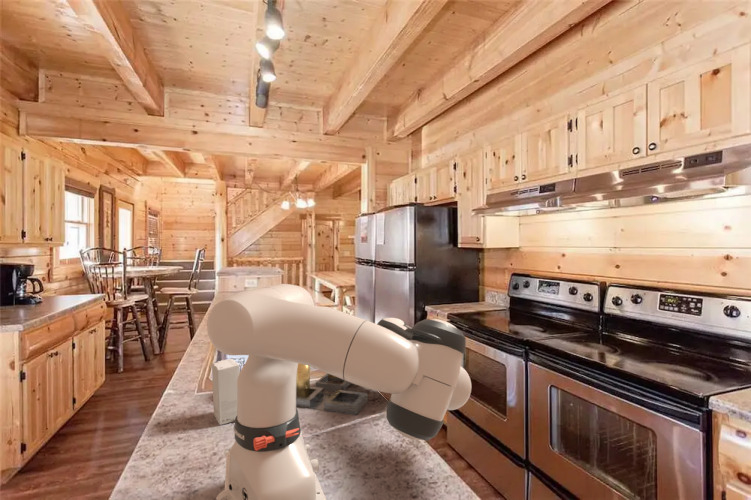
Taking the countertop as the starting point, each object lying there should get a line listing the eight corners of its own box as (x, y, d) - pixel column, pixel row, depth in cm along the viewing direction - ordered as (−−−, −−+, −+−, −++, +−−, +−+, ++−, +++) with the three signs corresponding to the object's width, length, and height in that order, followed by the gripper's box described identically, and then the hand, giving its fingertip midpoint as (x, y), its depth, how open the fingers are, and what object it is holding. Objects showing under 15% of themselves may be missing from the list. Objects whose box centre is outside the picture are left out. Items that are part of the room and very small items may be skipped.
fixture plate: (368, 402, 113) (368, 392, 112) (356, 418, 102) (356, 407, 102) (296, 393, 119) (296, 383, 119) (277, 407, 109) (277, 397, 109)
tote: (352, 384, 126) (352, 375, 126) (342, 395, 118) (342, 385, 118) (327, 381, 129) (327, 373, 129) (315, 392, 120) (315, 382, 120)
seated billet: (312, 399, 112) (312, 359, 112) (298, 403, 110) (298, 362, 109) (306, 394, 116) (306, 355, 115) (292, 397, 113) (292, 358, 113)
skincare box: (241, 420, 101) (241, 365, 101) (217, 426, 98) (217, 369, 97) (234, 408, 108) (234, 357, 108) (211, 414, 105) (211, 360, 104)
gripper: (361, 379, 110) (318, 374, 114) (380, 358, 130) (342, 355, 133) (362, 357, 110) (318, 353, 114) (380, 340, 129) (342, 337, 133)
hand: (331, 354), depth 124 cm, fingers closed on billet, 4 cm apart
